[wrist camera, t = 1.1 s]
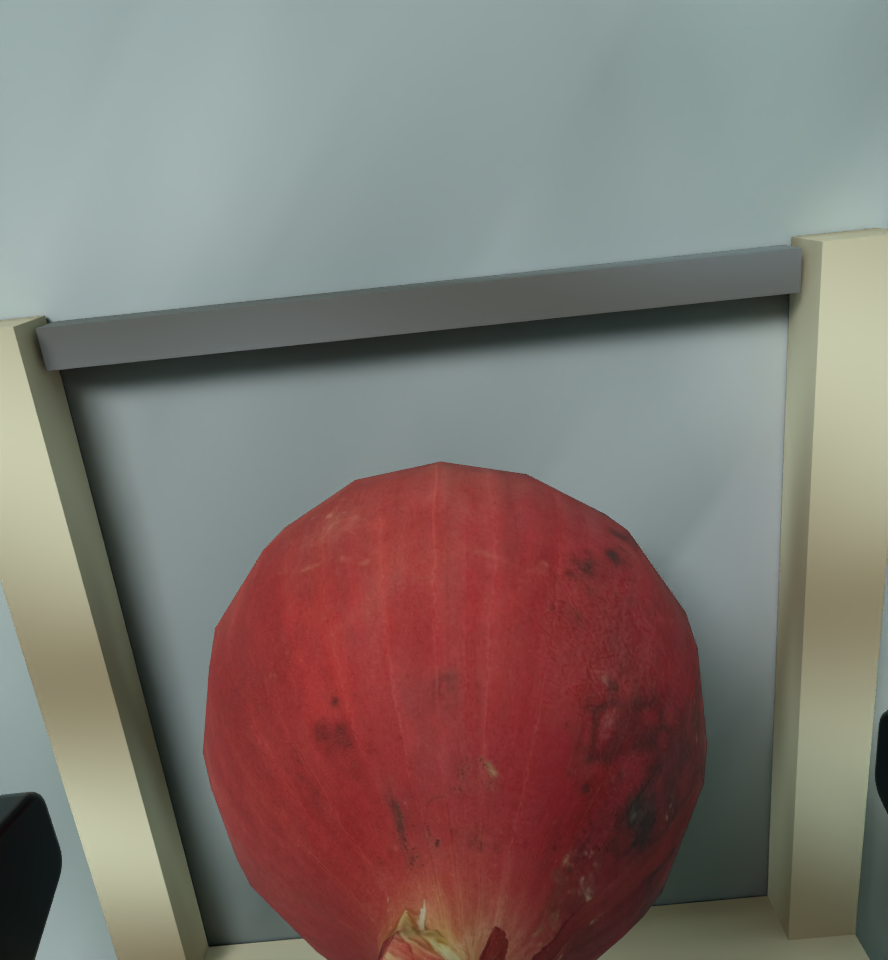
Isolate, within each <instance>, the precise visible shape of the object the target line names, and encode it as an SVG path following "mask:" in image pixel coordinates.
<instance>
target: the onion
mask: <svg viewBox="0 0 888 960" xmlns="http://www.w3.org/2000/svg"><path fill="white" fill-rule="evenodd" d="M706 751H707V739H706V729H705V719H704V709H703V699H702V689H701V679H700V668H699V658H698V648H697V645H696V642H695V639H694V636H693V633H692V630H691V627H690V624H689V621H688V618H687V615H686V613H685V611H684V610H683V608H682V607H681V605H680V604H679V602H678V601H677V600H676V598H675V597H674V595H673V594H672V593H671V591H670V590H669V588H668V587H667V585H666V584H665V583H664V581H663V580H662V578H661V577H660V575H659V574H658V573H657V571H656V570H655V568H654V567H653V565H652V564H651V563H650V561H649V560H648V558H647V557H646V556H645V554H644V553H643V551H642V550H641V548H640V547H639V546H638V544H637V543H636V541H635V540H634V538H633V537H632V536H631V534H630V533H629V531H628V530H626V529H625V528H624V527H622V526H621V525H619V524H618V523H617V522H615V521H614V520H612V519H611V518H610V517H608V516H607V515H606V514H604V513H602V512H600V511H598V510H596V509H594V508H592V507H590V506H588V505H586V504H584V503H582V502H580V501H578V500H576V499H574V498H572V497H570V496H568V495H566V494H564V493H562V492H560V491H558V490H556V489H554V488H552V487H551V486H549V485H547V484H545V483H543V482H541V481H539V480H537V479H535V478H533V477H531V476H529V475H527V474H521V473H514V472H508V471H501V470H494V469H487V468H480V467H473V466H466V465H459V464H453V463H446V462H437V463H432V464H427V465H423V466H418V467H414V468H409V469H404V470H400V471H395V472H391V473H386V474H381V475H377V476H372V477H368V478H363V479H358V480H355V481H353V482H352V483H350V484H349V485H347V486H346V487H344V488H343V489H342V490H340V491H339V492H337V493H336V494H334V495H333V496H331V497H330V498H328V499H327V500H325V501H324V502H322V503H321V504H319V505H318V506H316V507H315V508H313V509H312V510H310V511H309V512H307V513H306V514H305V515H303V516H302V517H300V518H299V519H297V520H296V521H294V522H293V523H291V524H290V525H288V526H287V527H285V528H284V529H283V530H282V531H281V532H280V533H279V534H278V535H277V536H276V537H275V539H274V540H273V541H272V542H271V543H270V544H269V545H268V546H267V547H266V548H265V549H264V550H263V552H262V553H261V555H260V556H259V558H258V560H257V561H256V563H255V565H254V566H253V568H252V569H251V571H250V573H249V574H248V576H247V578H246V579H245V581H244V582H243V584H242V586H241V587H240V589H239V591H238V592H237V594H236V595H235V597H234V599H233V600H232V602H231V604H230V605H229V607H228V609H227V610H226V612H225V613H224V615H223V617H222V618H221V620H220V622H219V623H218V625H217V626H216V628H215V634H214V641H213V647H212V653H211V660H210V666H209V677H208V691H207V704H206V718H205V732H204V745H203V755H204V759H205V763H206V768H207V772H208V776H209V781H210V785H211V789H212V792H213V795H214V797H215V800H216V803H217V806H218V808H219V811H220V814H221V817H222V819H223V822H224V825H225V828H226V830H227V833H228V836H229V839H230V841H231V844H232V847H233V850H234V852H235V855H236V858H237V860H238V862H239V864H240V866H241V868H242V870H243V872H244V874H245V876H246V878H247V880H248V882H249V883H250V885H251V886H252V887H253V888H254V889H255V891H256V892H257V893H258V894H259V895H260V896H261V897H262V898H263V899H264V900H265V901H266V902H267V903H268V904H269V905H270V906H271V907H272V908H273V909H274V910H275V911H276V912H277V913H278V914H279V915H280V916H281V917H282V918H283V919H284V920H285V921H286V922H287V923H288V924H289V925H290V926H291V927H292V928H293V929H294V930H295V931H296V932H297V933H298V934H299V935H300V936H301V937H302V938H303V939H304V940H305V941H306V942H307V943H308V944H309V945H310V946H311V947H312V948H313V949H314V950H315V951H316V952H317V953H319V954H320V955H321V956H323V957H324V958H326V959H327V960H597V959H598V958H599V957H600V956H602V955H603V954H604V953H605V952H606V951H607V950H609V949H610V948H611V947H612V946H613V945H614V944H616V943H617V942H618V941H619V940H620V939H621V938H623V937H624V936H625V935H626V934H627V933H628V932H629V931H630V930H631V929H632V928H633V927H634V926H635V925H636V924H637V923H638V922H639V921H640V920H641V919H642V918H643V917H644V915H645V914H646V913H647V911H648V910H649V909H650V907H651V906H652V905H653V903H654V902H655V901H656V899H657V898H658V897H659V895H660V894H661V893H662V890H663V888H664V885H665V883H666V880H667V878H668V875H669V872H670V870H671V867H672V865H673V862H674V859H675V857H676V854H677V852H678V849H679V847H680V844H681V841H682V839H683V836H684V834H685V831H686V829H687V826H688V823H689V821H690V818H691V816H692V813H693V810H694V808H695V805H696V802H697V800H698V797H699V794H700V792H701V789H702V786H703V784H704V776H705V764H706Z"/></svg>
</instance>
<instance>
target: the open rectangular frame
mask: <svg viewBox="0 0 888 960" xmlns="http://www.w3.org/2000/svg"><path fill="white" fill-rule="evenodd" d="M782 294H790V299H789V326H788V353H787V381H786V408H785V435H784V462H783V489H782V516H781V543H780V570H779V597H778V624H777V651H776V678H775V705H774V732H773V759H772V786H771V813H770V840H769V867H768V894H767V896H760V897H749V898H738V899H727V900H716V901H705V902H694V903H684V904H673V905H662V906H651V907H650V909H649V910H648V911H647V913H646V914H645V915H644V917H643V918H642V919H641V920H640V921H639V922H638V923H637V924H636V925H635V926H634V927H633V928H632V929H631V930H630V931H629V932H628V933H627V934H626V935H625V936H624V937H623V938H621V939H620V940H619V941H618V942H617V943H616V944H614V945H613V946H612V947H611V948H610V949H609V950H607V951H606V952H605V953H604V954H603V955H602V956H600V957H599V958H598V959H597V960H870V959H869V958H868V956H867V954H866V952H865V950H864V949H863V947H862V945H861V943H860V942H859V940H858V938H857V936H856V935H855V932H856V920H857V908H858V896H859V884H860V872H861V861H862V849H863V837H864V825H865V813H866V801H867V789H868V777H869V766H870V754H871V742H872V730H873V718H874V706H875V694H876V682H877V670H878V659H879V647H880V635H881V623H882V611H883V599H884V587H885V575H886V564H887V552H888V229H881V228H872V229H862V230H853V231H843V232H834V233H824V234H815V235H805V236H796V237H792V245H791V246H788V245H778V246H769V247H759V248H750V249H740V250H731V251H721V252H712V253H702V254H693V255H683V256H674V257H664V258H655V259H645V260H636V261H626V262H617V263H607V264H598V265H588V266H579V267H569V268H560V269H550V270H541V271H531V272H522V273H512V274H503V275H493V276H484V277H474V278H465V279H455V280H446V281H436V282H427V283H417V284H408V285H398V286H389V287H379V288H370V289H360V290H351V291H341V292H332V293H322V294H313V295H303V296H294V297H284V298H275V299H265V300H256V301H246V302H237V303H227V304H218V305H208V306H199V307H189V308H180V309H170V310H161V311H151V312H142V313H132V314H123V315H113V316H104V317H94V318H85V319H75V320H66V321H56V322H52V323H49V324H47V321H46V317H45V316H36V317H27V318H17V319H8V320H0V581H1V584H2V587H3V591H4V594H5V597H6V600H7V603H8V607H9V610H10V613H11V616H12V620H13V623H14V626H15V629H16V633H17V636H18V639H19V642H20V645H21V649H22V652H23V655H24V658H25V662H26V665H27V668H28V671H29V675H30V678H31V681H32V684H33V687H34V691H35V694H36V697H37V700H38V704H39V707H40V710H41V713H42V716H43V720H44V723H45V726H46V729H47V733H48V736H49V739H50V742H51V746H52V749H53V752H54V755H55V758H56V762H57V765H58V768H59V771H60V775H61V778H62V781H63V784H64V788H65V791H66V794H67V797H68V800H69V804H70V807H71V810H72V813H73V817H74V820H75V823H76V826H77V830H78V833H79V836H80V839H81V842H82V846H83V849H84V852H85V855H86V859H87V862H88V865H89V868H90V872H91V875H92V878H93V881H94V884H95V888H96V891H97V894H98V897H99V901H100V904H101V907H102V910H103V914H104V917H105V920H106V923H107V926H108V930H109V933H110V936H111V939H112V943H113V946H114V949H115V952H116V955H117V959H118V960H327V959H326V958H324V957H323V956H321V955H320V954H319V953H317V952H316V951H315V950H314V949H313V948H312V947H311V946H310V945H309V944H308V943H307V942H306V941H305V940H304V939H303V938H302V939H291V940H280V941H269V942H258V943H247V944H236V945H225V946H215V947H209V946H208V942H207V938H206V934H205V931H204V927H203V923H202V919H201V915H200V911H199V907H198V904H197V900H196V896H195V892H194V888H193V884H192V880H191V877H190V873H189V869H188V865H187V861H186V857H185V853H184V850H183V846H182V842H181V838H180V834H179V830H178V826H177V823H176V819H175V815H174V811H173V807H172V803H171V799H170V796H169V792H168V788H167V784H166V780H165V776H164V772H163V769H162V765H161V761H160V757H159V753H158V749H157V745H156V742H155V738H154V734H153V730H152V726H151V722H150V718H149V715H148V711H147V707H146V703H145V699H144V695H143V691H142V688H141V684H140V680H139V676H138V672H137V668H136V664H135V661H134V657H133V653H132V649H131V645H130V641H129V637H128V633H127V630H126V626H125V622H124V618H123V614H122V610H121V606H120V603H119V599H118V595H117V591H116V587H115V583H114V579H113V576H112V572H111V568H110V564H109V560H108V556H107V552H106V549H105V545H104V541H103V537H102V533H101V529H100V525H99V522H98V518H97V514H96V510H95V506H94V502H93V498H92V495H91V491H90V487H89V483H88V479H87V475H86V471H85V468H84V464H83V460H82V456H81V452H80V448H79V444H78V441H77V437H76V433H75V429H74V425H73V421H72V417H71V414H70V410H69V406H68V402H67V398H66V394H65V390H64V387H63V383H62V379H61V375H60V371H59V370H62V369H71V368H81V367H90V366H100V365H110V364H119V363H129V362H138V361H148V360H158V359H167V358H177V357H186V356H196V355H206V354H215V353H225V352H234V351H244V350H254V349H263V348H273V347H282V346H292V345H302V344H311V343H321V342H330V341H340V340H350V339H359V338H369V337H378V336H388V335H398V334H407V333H417V332H426V331H436V330H446V329H455V328H465V327H474V326H484V325H494V324H503V323H513V322H522V321H532V320H542V319H551V318H561V317H570V316H580V315H590V314H599V313H609V312H618V311H628V310H638V309H647V308H657V307H666V306H676V305H686V304H695V303H705V302H714V301H724V300H734V299H743V298H753V297H762V296H772V295H782Z"/></svg>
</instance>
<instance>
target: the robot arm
mask: <svg viewBox="0 0 888 960" xmlns="http://www.w3.org/2000/svg"><path fill="white" fill-rule="evenodd" d="M875 782H876V787H877V791H878V794H879V797H880V799H881V801H882V803H883V805H884V807H885V809H886V812H887V814H888V710H887V711H886V712H885V713H883V714H882V716H881V718H880V722H879V729H878V741H877V753H876V765H875ZM61 867H62V855H61V849H60V846H59V843H58V840H57V837H56V833H55V830H54V827H53V824H52V821H51V818H50V815H49V812H48V809H47V805H46V803H45V801H44V799H43V797H42V796H41V795H40V794H38V793H35V792H25V793H14V794H5V795H0V960H35V957H36V954H37V951H38V947H39V944H40V941H41V937H42V934H43V931H44V928H45V924H46V921H47V918H48V914H49V911H50V908H51V904H52V901H53V898H54V894H55V891H56V888H57V885H58V881H59V878H60V874H61Z"/></svg>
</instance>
